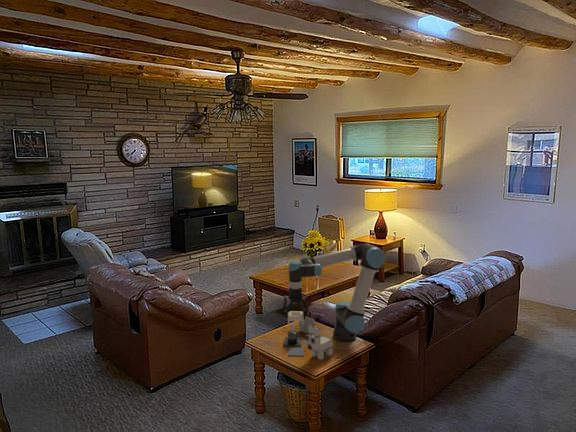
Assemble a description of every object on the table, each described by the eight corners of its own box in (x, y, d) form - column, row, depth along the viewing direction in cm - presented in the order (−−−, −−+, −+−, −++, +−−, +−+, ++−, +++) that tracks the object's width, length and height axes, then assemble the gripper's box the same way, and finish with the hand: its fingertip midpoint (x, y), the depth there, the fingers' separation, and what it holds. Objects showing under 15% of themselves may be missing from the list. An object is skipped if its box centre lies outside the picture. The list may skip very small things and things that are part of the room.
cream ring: (302, 316, 259) (302, 311, 259) (302, 321, 251) (302, 316, 251) (289, 315, 260) (289, 311, 259) (288, 321, 252) (288, 316, 252)
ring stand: (302, 339, 276) (301, 322, 275) (301, 347, 266) (300, 329, 264) (285, 338, 277) (285, 322, 276) (283, 346, 267) (283, 329, 265)
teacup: (313, 335, 282) (313, 324, 280) (297, 334, 284) (297, 323, 283) (316, 327, 295) (316, 316, 294) (300, 326, 297) (300, 315, 296)
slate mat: (304, 348, 263) (304, 347, 263) (303, 356, 254) (303, 355, 253) (289, 348, 264) (289, 347, 264) (288, 355, 254) (288, 355, 254)
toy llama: (335, 353, 256) (335, 322, 253) (314, 363, 245) (314, 330, 242) (326, 349, 262) (326, 318, 259) (305, 359, 250) (305, 326, 247)
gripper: (313, 285, 255) (313, 321, 259) (278, 285, 257) (279, 320, 261) (312, 289, 248) (313, 326, 251) (277, 289, 250) (277, 325, 253)
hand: (295, 323), depth 256 cm, fingers closed on cream ring, 8 cm apart
